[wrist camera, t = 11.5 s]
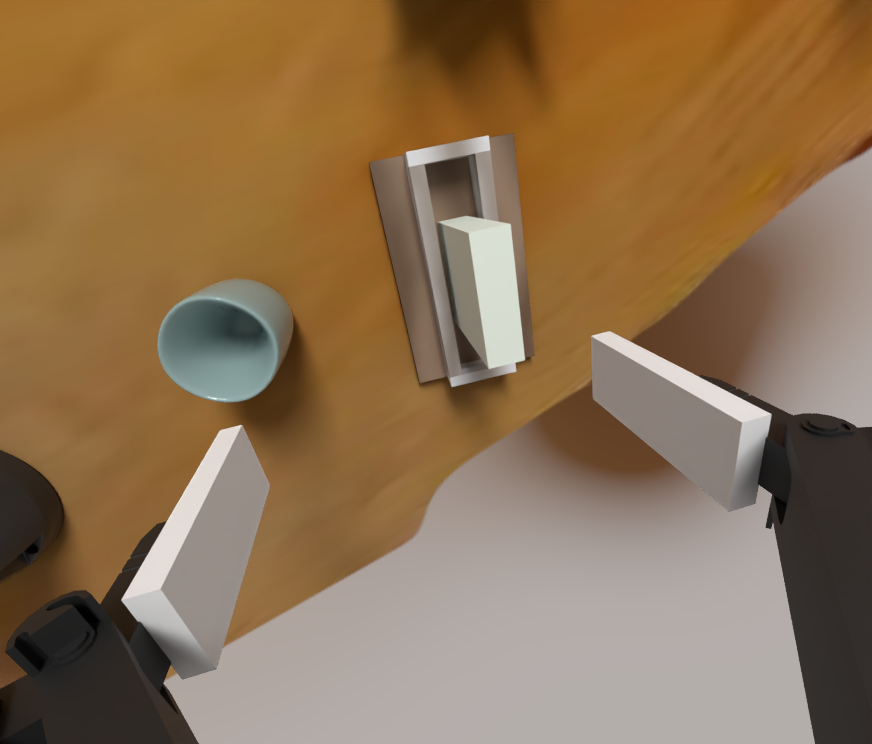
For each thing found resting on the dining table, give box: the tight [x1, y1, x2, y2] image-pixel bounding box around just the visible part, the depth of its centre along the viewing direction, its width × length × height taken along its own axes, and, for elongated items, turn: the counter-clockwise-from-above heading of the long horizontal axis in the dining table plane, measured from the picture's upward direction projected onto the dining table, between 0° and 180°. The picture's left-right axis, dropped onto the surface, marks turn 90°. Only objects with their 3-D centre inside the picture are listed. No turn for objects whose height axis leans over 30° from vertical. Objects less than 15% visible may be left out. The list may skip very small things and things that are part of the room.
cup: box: [157, 278, 294, 403], centre depth 32 cm, size 8×8×10 cm
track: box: [369, 133, 535, 387], centre depth 36 cm, size 12×20×4 cm, turn 11°
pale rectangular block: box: [437, 216, 525, 369], centre depth 31 cm, size 3×9×12 cm, turn 11°
